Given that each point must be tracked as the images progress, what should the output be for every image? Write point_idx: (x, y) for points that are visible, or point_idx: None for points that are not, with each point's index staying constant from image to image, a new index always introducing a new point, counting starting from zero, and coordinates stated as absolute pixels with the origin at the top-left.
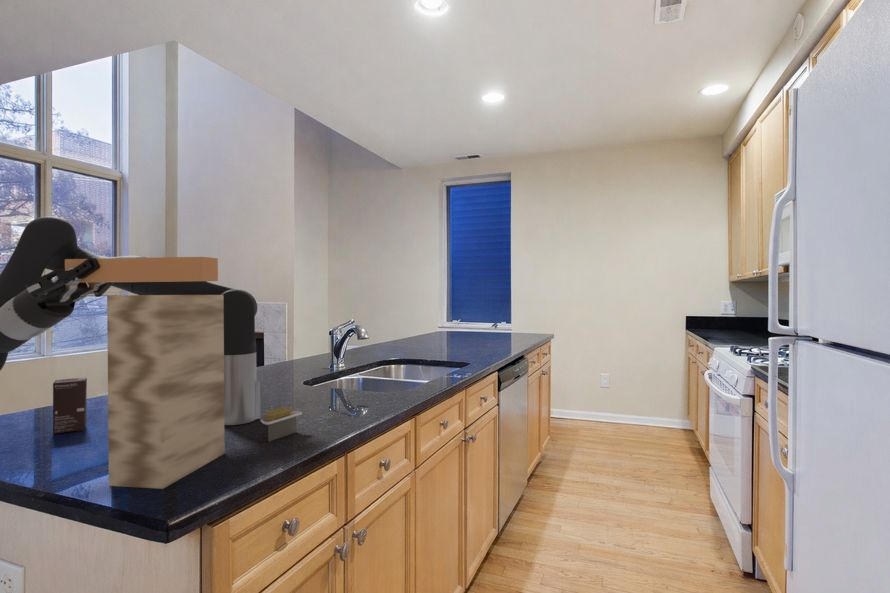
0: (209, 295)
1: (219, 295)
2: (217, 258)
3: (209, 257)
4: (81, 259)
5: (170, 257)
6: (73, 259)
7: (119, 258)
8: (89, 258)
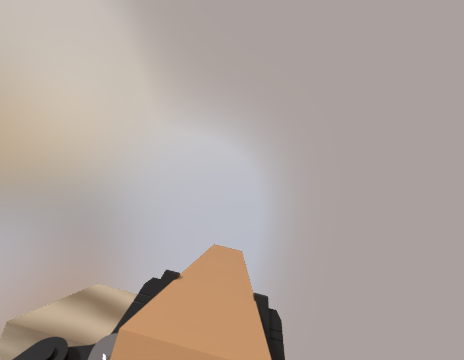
0: (136, 294)
1: (108, 287)
2: (214, 244)
3: (230, 248)
4: (258, 320)
5: (243, 257)
6: (264, 340)
7: (248, 276)
8: (267, 302)
